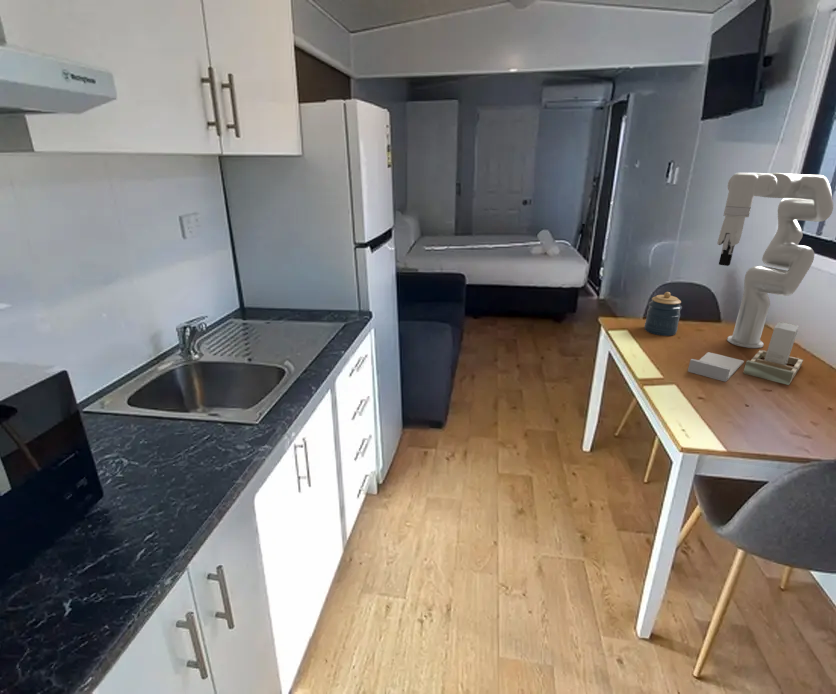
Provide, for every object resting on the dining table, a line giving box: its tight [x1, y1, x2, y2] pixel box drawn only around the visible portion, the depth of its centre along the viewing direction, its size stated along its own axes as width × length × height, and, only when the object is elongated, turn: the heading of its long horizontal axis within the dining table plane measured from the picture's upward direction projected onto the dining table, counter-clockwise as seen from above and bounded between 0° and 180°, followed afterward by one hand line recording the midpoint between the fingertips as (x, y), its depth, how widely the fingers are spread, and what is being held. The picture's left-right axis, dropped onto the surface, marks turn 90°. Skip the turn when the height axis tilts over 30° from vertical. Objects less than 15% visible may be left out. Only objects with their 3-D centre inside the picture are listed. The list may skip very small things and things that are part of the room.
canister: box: [644, 291, 683, 337], centre depth 210 cm, size 13×13×18 cm
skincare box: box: [764, 321, 800, 365], centre depth 176 cm, size 8×7×16 cm
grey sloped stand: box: [687, 351, 745, 383], centre depth 176 cm, size 24×12×4 cm, turn 136°
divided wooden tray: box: [742, 349, 804, 386], centre depth 175 cm, size 24×13×4 cm, turn 136°
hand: (724, 264), depth 175 cm, fingers closed
